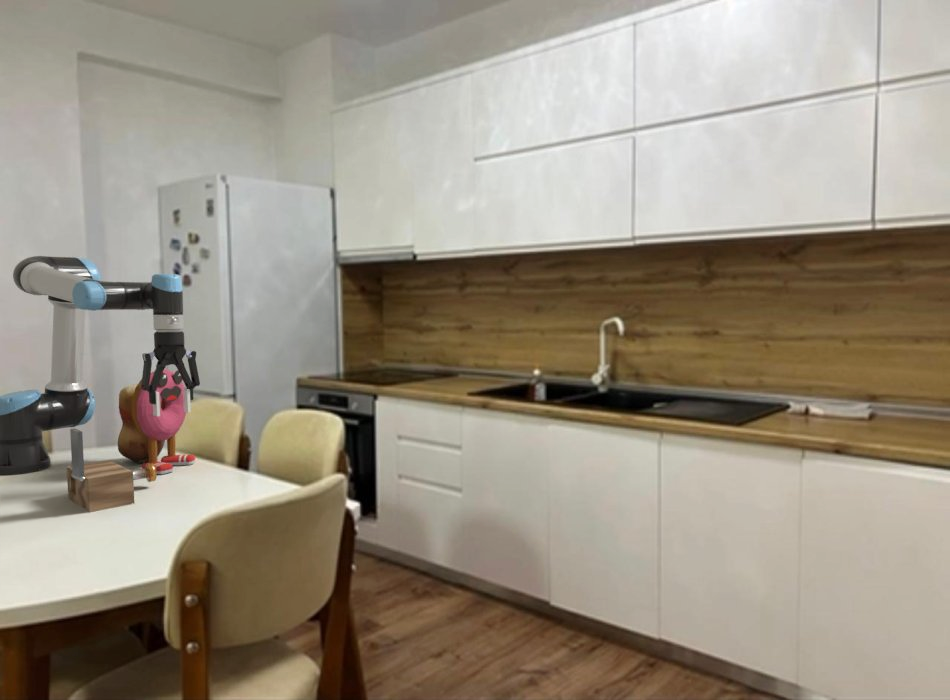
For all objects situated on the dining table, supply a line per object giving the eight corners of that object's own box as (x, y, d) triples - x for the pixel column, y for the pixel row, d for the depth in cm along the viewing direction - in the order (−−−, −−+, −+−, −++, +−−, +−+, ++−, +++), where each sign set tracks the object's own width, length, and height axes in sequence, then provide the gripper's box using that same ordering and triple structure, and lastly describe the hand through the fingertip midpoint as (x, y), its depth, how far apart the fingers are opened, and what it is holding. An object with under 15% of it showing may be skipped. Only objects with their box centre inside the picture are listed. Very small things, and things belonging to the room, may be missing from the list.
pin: (149, 479, 186) (149, 461, 185) (156, 482, 182) (155, 464, 182) (88, 490, 175) (87, 471, 175) (94, 494, 171) (93, 474, 171)
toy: (158, 477, 194) (154, 373, 192) (127, 476, 196) (123, 372, 194) (203, 460, 214) (199, 366, 212) (174, 459, 216) (170, 365, 215)
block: (68, 497, 174) (66, 466, 173) (110, 489, 181) (109, 460, 181) (89, 512, 161) (88, 479, 161) (134, 503, 168) (132, 471, 168)
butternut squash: (110, 463, 212) (106, 384, 210) (151, 455, 223) (148, 379, 221) (134, 469, 204) (130, 386, 202) (175, 460, 215) (172, 382, 213)
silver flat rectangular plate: (71, 477, 165) (69, 428, 164) (77, 476, 166) (74, 428, 165) (80, 482, 160) (77, 432, 159) (85, 481, 161) (83, 431, 160)
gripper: (134, 332, 175) (137, 420, 177) (211, 329, 190) (214, 410, 191) (124, 332, 181) (128, 417, 182) (200, 329, 195) (203, 408, 197)
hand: (172, 413), depth 187 cm, fingers open, 8 cm apart
